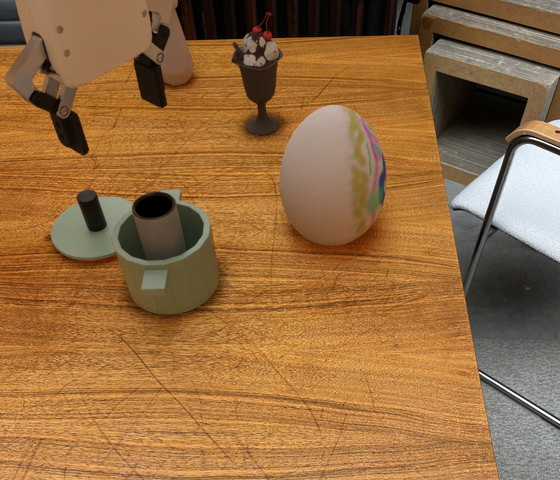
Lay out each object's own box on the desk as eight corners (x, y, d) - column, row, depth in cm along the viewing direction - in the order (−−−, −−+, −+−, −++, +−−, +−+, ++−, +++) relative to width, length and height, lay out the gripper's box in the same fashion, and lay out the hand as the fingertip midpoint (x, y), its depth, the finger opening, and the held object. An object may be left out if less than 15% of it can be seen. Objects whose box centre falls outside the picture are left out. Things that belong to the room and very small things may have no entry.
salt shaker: (202, 73, 101) (188, -16, 91) (184, 91, 98) (168, 1, 88) (170, 67, 103) (153, -21, 92) (152, 84, 100) (132, -5, 89)
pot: (118, 334, 69) (99, 285, 63) (139, 236, 78) (124, 185, 72) (213, 332, 68) (203, 282, 62) (223, 233, 78) (215, 182, 72)
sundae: (295, 120, 92) (291, 10, 80) (268, 143, 89) (260, 33, 77) (258, 107, 94) (248, -1, 82) (231, 130, 91) (217, 21, 79)
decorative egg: (389, 254, 74) (402, 139, 62) (284, 262, 74) (277, 149, 62) (375, 188, 81) (383, 74, 69) (279, 196, 82) (272, 83, 70)
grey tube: (145, 277, 73) (122, 205, 65) (177, 258, 75) (159, 185, 67) (168, 298, 71) (147, 225, 63) (200, 277, 73) (184, 204, 64)
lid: (44, 266, 76) (26, 229, 72) (64, 204, 83) (49, 168, 78) (138, 262, 75) (126, 225, 71) (151, 201, 82) (141, 164, 78)
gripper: (117, -129, 52) (157, 74, 66) (-71, -59, 45) (18, 153, 58) (181, -110, 49) (208, 98, 63) (-10, -32, 42) (69, 185, 55)
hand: (116, 125), depth 61 cm, fingers open, 9 cm apart
